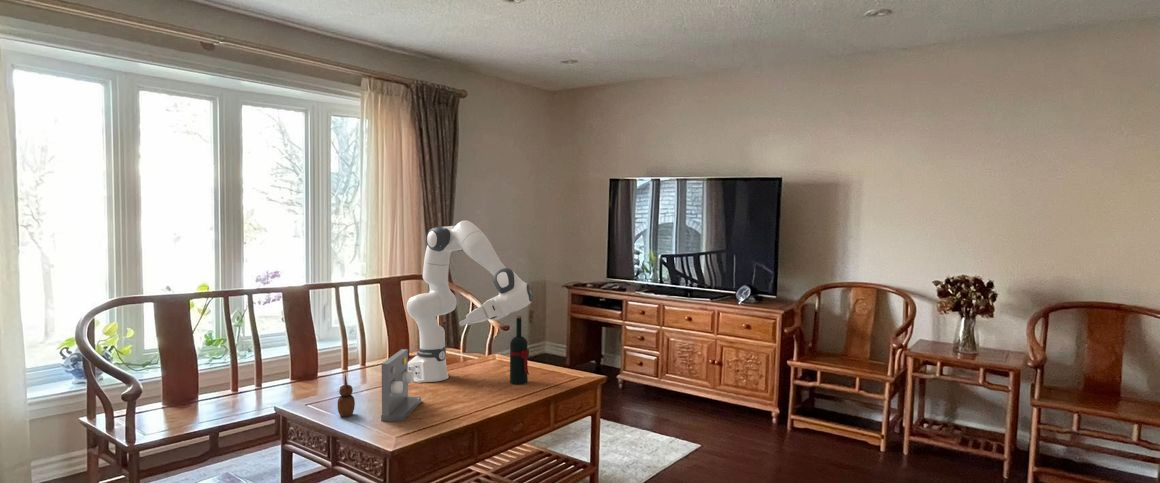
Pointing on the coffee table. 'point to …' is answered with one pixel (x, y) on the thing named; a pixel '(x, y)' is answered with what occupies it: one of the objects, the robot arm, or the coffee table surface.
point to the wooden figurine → (346, 400)
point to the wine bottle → (518, 357)
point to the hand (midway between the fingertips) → (463, 323)
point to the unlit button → (396, 387)
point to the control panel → (396, 404)
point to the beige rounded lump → (408, 377)
